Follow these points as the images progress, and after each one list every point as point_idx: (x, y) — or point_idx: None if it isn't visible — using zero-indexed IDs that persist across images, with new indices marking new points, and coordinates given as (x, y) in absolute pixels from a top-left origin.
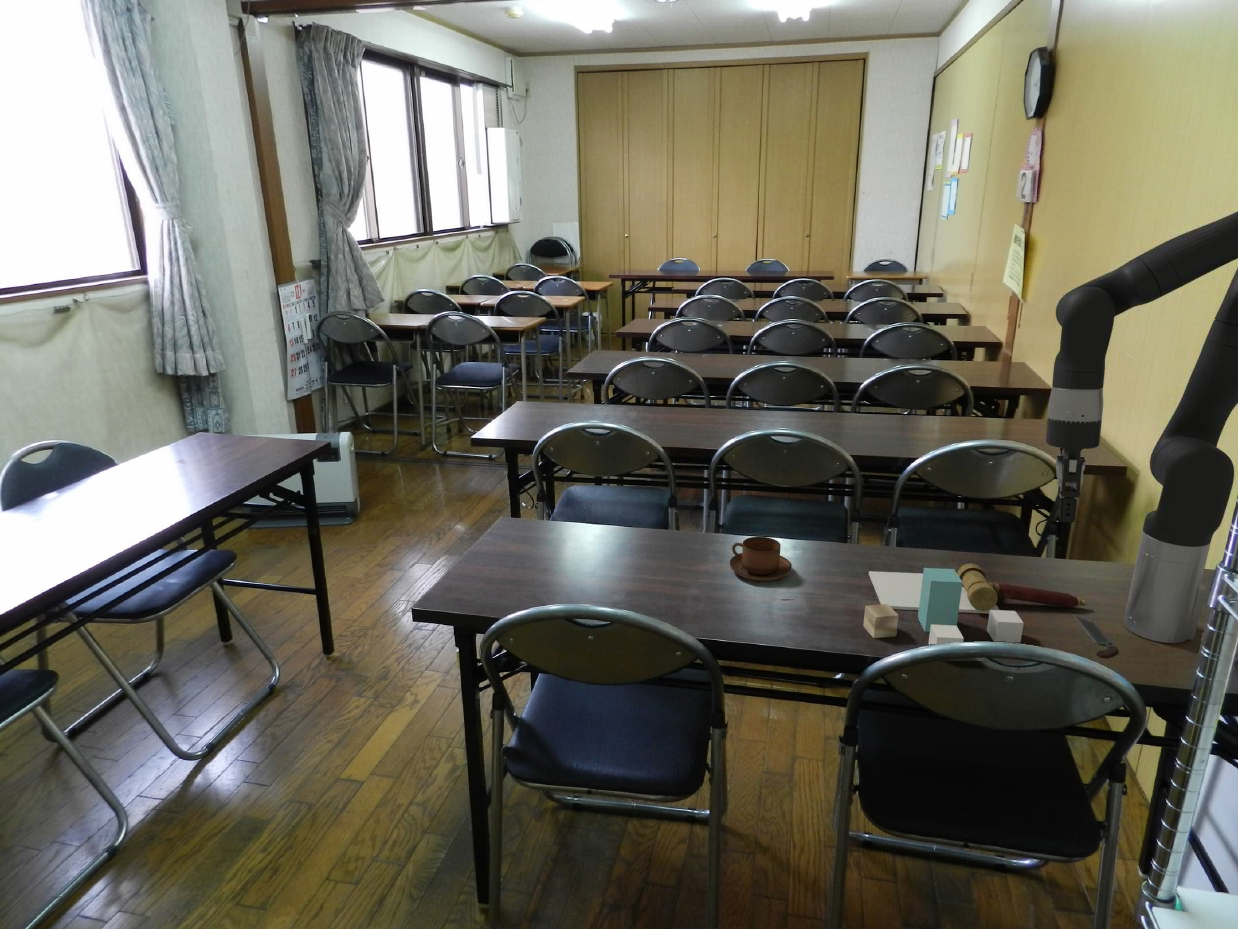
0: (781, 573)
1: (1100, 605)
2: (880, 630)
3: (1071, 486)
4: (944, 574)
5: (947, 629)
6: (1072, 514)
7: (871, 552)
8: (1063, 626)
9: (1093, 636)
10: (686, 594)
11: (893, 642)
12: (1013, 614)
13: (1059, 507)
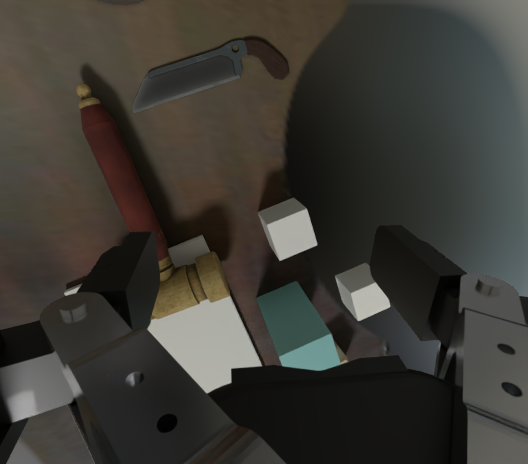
0: None
1: (39, 46)
2: (346, 357)
3: (448, 353)
4: (308, 363)
5: (365, 300)
6: (436, 250)
7: (63, 444)
8: (195, 131)
9: (214, 78)
10: None
11: (348, 335)
12: (281, 226)
13: (157, 278)
